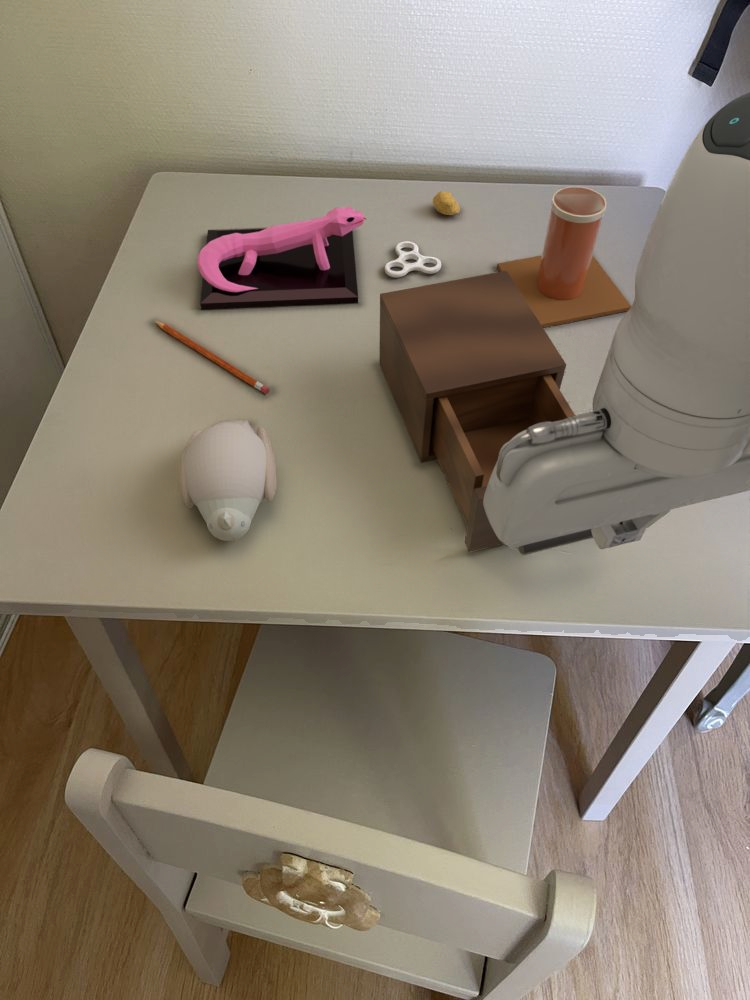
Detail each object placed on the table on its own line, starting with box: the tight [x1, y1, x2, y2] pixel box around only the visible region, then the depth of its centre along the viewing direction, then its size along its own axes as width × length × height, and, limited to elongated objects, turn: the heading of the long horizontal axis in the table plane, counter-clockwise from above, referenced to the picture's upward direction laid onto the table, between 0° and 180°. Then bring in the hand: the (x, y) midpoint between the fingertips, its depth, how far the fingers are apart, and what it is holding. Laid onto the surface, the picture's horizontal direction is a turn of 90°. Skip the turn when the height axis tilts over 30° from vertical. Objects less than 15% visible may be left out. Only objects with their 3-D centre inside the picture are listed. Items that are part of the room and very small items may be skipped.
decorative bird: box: [178, 419, 278, 542], centre depth 72 cm, size 9×16×8 cm, turn 9°
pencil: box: [154, 320, 270, 395], centre depth 86 cm, size 1×18×1 cm, turn 51°
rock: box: [432, 190, 461, 216], centre depth 102 cm, size 4×4×3 cm
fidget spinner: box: [384, 240, 442, 278], centre depth 96 cm, size 7×6×1 cm
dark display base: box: [196, 206, 367, 311], centre depth 92 cm, size 15×20×7 cm
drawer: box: [430, 374, 594, 556], centre depth 70 cm, size 18×12×8 cm
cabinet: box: [378, 271, 567, 464], centre depth 78 cm, size 15×14×10 cm
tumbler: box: [536, 186, 608, 300], centre depth 88 cm, size 6×6×11 cm
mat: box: [496, 254, 632, 329], centre depth 93 cm, size 12×12×1 cm
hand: (614, 537), depth 54 cm, fingers closed
